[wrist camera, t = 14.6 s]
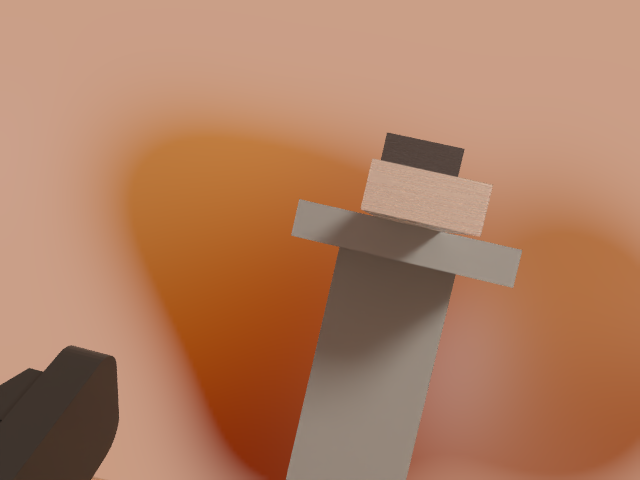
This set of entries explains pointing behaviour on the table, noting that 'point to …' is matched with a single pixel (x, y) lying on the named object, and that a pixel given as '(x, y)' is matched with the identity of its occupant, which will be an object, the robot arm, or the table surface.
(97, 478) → the table surface
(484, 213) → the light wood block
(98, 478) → the table surface
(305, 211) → the gray stand
